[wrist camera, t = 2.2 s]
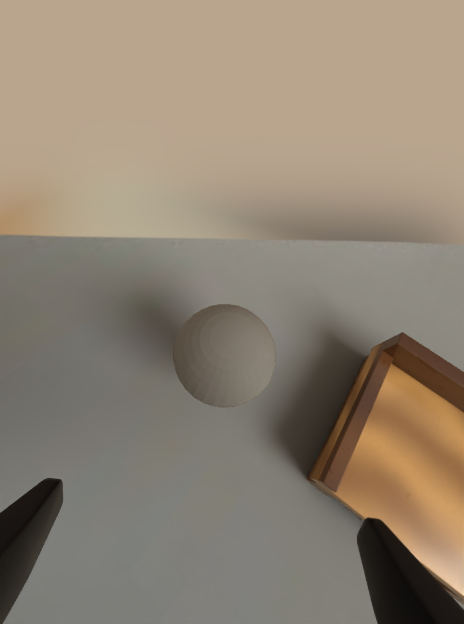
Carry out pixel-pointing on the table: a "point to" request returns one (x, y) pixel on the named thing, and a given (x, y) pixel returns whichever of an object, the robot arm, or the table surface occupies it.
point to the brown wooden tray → (404, 454)
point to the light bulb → (224, 355)
